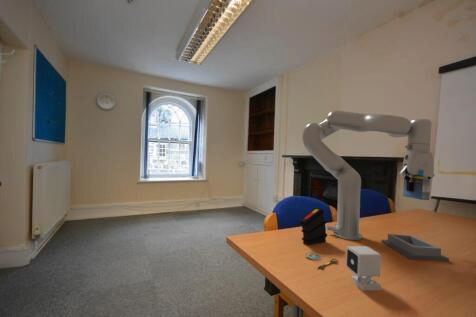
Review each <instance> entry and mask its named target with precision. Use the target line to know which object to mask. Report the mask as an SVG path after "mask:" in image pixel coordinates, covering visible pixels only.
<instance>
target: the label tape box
mask: <svg viewBox="0 0 476 317" xmlns="http://www.w3.org/2000/svg"><path fill="white" fill-rule="evenodd" d="M423 174H424V170H420V171H419V175H414V179H413V182H414V191H413V192H410V191H406V184H407V182H406V181H405V179H404V178H403V188H402V189H403V190H402V191H403V192H402V196H403V197H404V198H405V197H406V198H411V199H418V200H422V201H430V195H431V194H430V191H431V179H428V178H426V177H424V176H423ZM406 175H407V174H406Z"/></svg>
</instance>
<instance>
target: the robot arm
mask: <svg viewBox="0 0 476 317" xmlns="http://www.w3.org/2000/svg"><path fill="white" fill-rule="evenodd" d="M340 130H346V131H347V130H348V131H352V132H358V133H365V132H379V133H385V134H386V133H387V134H388V136H390V137H392V138H404V137H405V138H406V137H407V144H406V145H405V147H404V148H405V149H406V151H405V152H404V153H405V154H404V157H403V162H402V169H401V170H400V172H399V173H398V175H400V176H401V177H402V178H403V180H404V179H405V181H406V182H407V184H406V191H410V192H413V191H414V182H413V179H414V175H419V171H420V170H424V174H423V176H424V177H426V178H428V179H430V180H431V179H433V178H434V177H435V172H434V170H435V168H434V167H435V166H434V156H433V152H431V142H432V141H431V140H432V121H431V120H430V119H427V118H416V119H412V120H410V119H408V118H407V117H404V116H399V115H391V114H379V113H378V114H377V113H359V112H352V111H345V110H332V111H330V112H329V113H328V114H327V116H326V119H325V120H323V121H322V122H320V123H318V122H309V123H308V124H306V126H305V127H304V129H303V131H302V143H303V146H304V147H305V149H306V151H307V152H308V153H309V154H310V155H311V156H312V157H313V159H315V160H316V161H317V163H318V164H320V166H322V167H323V169H324V170H325V171H327V172H328V173H330V174H331V175H332V176H333V177H334V178H335V179H337V210H336V211H337V213H336V214H337V215H336V217H337V218H336V223H335V224H334V225H333V226H331V225H326V226H325V227H326V231H331V232H332V233H333V236H335V237H338V238H340V239H342V240H343V239H344V240H348V241H360V240H363V235H362V234H361V233H360V214H361V213H360V212H361V211H360V210H361V209H360V208H361V188H362V177H361V175H360V174H359V172H358V171H356V169H355V168H353V167H352V166H351V165H350V164H349V163H347V161H345V159H343V158H342V157H341V156H340V155H338V154H337V153H335V152H334V151H333V150H332V149H331V148H329V147H328V145H326V144H325V143H324V141H322V140H324V139H326V138H327V137H329V136H331V135H333V134H334V133H336V132H338V131H340ZM406 174H407V175H406Z"/></svg>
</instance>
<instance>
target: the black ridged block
mask: <svg viewBox="0 0 476 317" xmlns="http://www.w3.org/2000/svg"><path fill="white" fill-rule="evenodd" d="M324 212H325V211H324V210H323V209H322V207H318V206H314V208H312V209H311V210H309V211H308V212H307V213H305V215H303V216H302V217H301V218H299V222H298V223H299V224H300V225H301V228H302V229H301V232H302V237H301V240H302V244H304V245H305V246H307V247H309V246H313V245H318V244H323V243H324V244H325V243H326V242H327V237H328V233H326V232H327V228H326V227H327V226H326V223H327V220H325V217H324Z"/></svg>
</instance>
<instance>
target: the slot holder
mask: <svg viewBox="0 0 476 317" xmlns="http://www.w3.org/2000/svg"><path fill="white" fill-rule="evenodd" d="M381 243H382V244H384V245H385V246H387V247H389V248H391V249H392V250H393V251H395V252H396V253H398V254H400V255H402V256H403V257H405V258H406V259H409V260H416V261H417V260H418V261H434V262H449V261H450V258H449V257H447V256H446V255H443V254H442V248H441V247H439V246H436V245H434V244H432V243H430V242H427V241H426V240H423V239H421V238H419V237H416V236H414V235H412V234H399V233H398V234H397V233H387V239H381Z"/></svg>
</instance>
